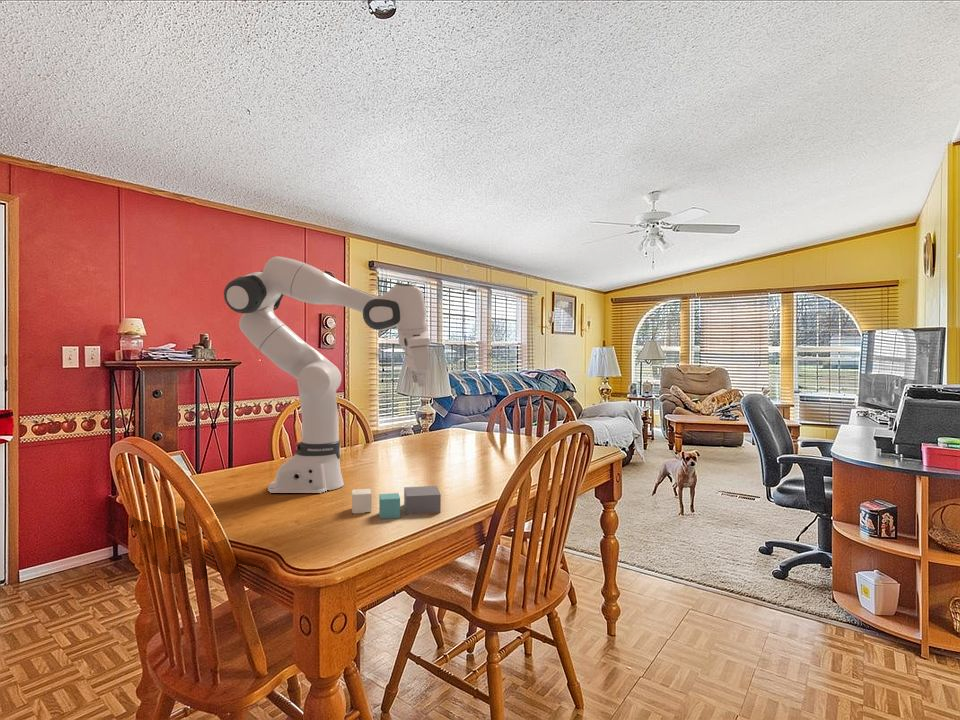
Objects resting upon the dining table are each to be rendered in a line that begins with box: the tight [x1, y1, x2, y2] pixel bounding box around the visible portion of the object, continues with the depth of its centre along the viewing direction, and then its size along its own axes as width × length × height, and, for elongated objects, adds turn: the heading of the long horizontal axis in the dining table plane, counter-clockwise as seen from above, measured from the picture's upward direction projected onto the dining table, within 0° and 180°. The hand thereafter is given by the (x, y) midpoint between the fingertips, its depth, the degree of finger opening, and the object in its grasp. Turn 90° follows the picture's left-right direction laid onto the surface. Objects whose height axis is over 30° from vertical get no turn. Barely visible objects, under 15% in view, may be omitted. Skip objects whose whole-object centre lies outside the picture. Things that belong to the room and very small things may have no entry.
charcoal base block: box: [403, 485, 442, 516], centre depth 145 cm, size 9×9×5 cm
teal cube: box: [378, 492, 401, 520], centre depth 139 cm, size 5×5×5 cm
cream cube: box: [351, 488, 372, 514], centre depth 143 cm, size 5×5×5 cm
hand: (418, 384), depth 159 cm, fingers open, 8 cm apart
